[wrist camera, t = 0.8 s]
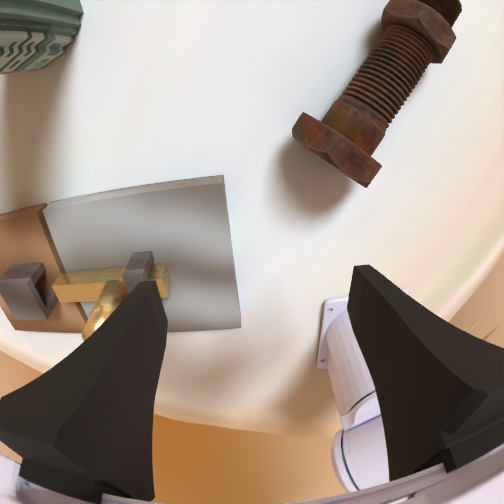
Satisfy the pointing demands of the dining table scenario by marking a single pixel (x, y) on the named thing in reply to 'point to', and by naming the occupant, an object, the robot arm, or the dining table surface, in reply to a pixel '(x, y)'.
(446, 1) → the bolt
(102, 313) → the slide bolt
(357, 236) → the dining table surface
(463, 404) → the robot arm
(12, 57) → the can
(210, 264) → the latch plate
